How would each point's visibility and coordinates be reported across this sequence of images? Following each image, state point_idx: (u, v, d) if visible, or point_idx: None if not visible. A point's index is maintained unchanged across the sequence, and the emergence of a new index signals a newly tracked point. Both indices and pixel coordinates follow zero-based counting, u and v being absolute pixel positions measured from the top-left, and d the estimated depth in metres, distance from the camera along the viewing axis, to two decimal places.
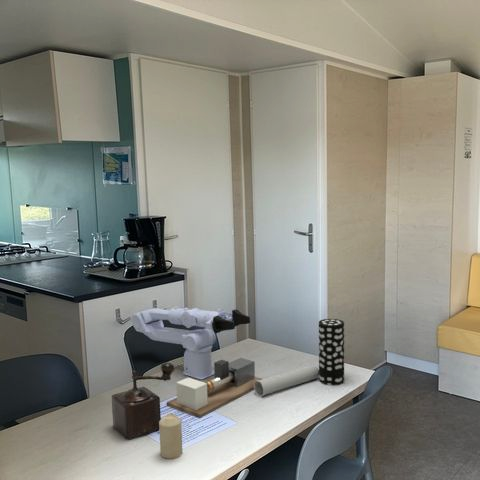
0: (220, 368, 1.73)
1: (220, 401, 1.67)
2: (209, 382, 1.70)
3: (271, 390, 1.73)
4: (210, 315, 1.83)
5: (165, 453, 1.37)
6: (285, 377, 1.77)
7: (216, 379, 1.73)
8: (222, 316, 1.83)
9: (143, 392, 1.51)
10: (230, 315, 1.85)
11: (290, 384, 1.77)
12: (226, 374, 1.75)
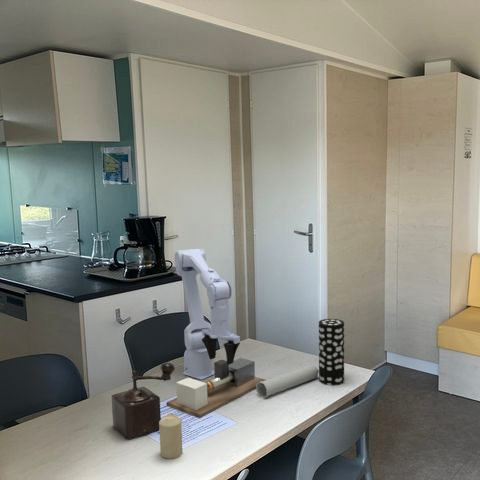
0: (220, 368, 1.73)
1: (220, 401, 1.67)
2: (209, 382, 1.70)
3: (274, 391, 1.72)
4: (211, 325, 1.73)
5: (165, 453, 1.37)
6: (287, 377, 1.76)
7: (216, 379, 1.73)
8: None
9: (143, 392, 1.51)
10: None
11: (292, 384, 1.77)
12: (226, 374, 1.75)
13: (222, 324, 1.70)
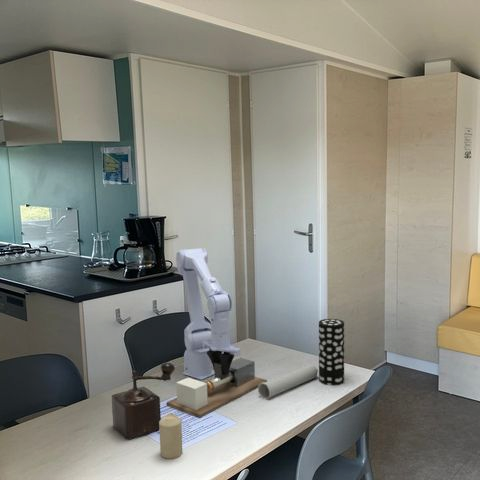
0: (220, 368, 1.73)
1: (220, 401, 1.67)
2: (209, 382, 1.70)
3: (276, 392, 1.71)
4: None
5: (165, 453, 1.37)
6: (288, 378, 1.76)
7: (216, 379, 1.73)
8: None
9: (143, 392, 1.51)
10: None
11: (293, 385, 1.77)
12: None
13: (222, 336, 1.71)
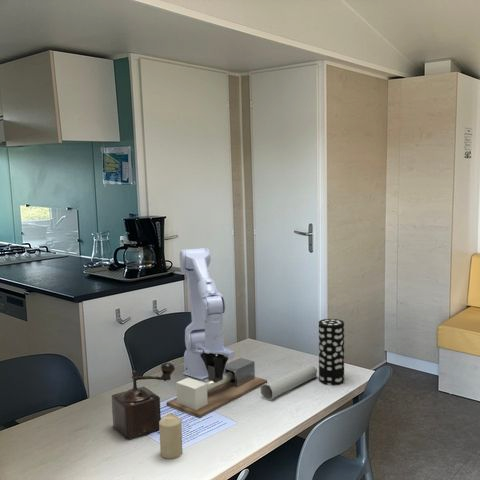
0: (214, 371, 1.71)
1: (220, 401, 1.67)
2: None
3: (279, 392, 1.71)
4: (205, 340, 1.71)
5: (165, 453, 1.37)
6: (290, 378, 1.76)
7: (210, 382, 1.71)
8: None
9: (143, 392, 1.51)
10: None
11: (294, 385, 1.76)
12: (220, 377, 1.73)
13: (216, 339, 1.69)
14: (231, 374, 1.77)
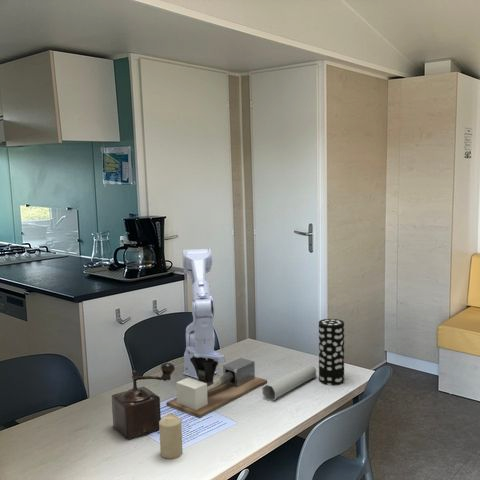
0: (204, 375, 1.68)
1: (220, 401, 1.67)
2: None
3: (281, 393, 1.70)
4: (194, 344, 1.68)
5: (165, 453, 1.37)
6: (291, 378, 1.75)
7: None
8: None
9: (143, 392, 1.51)
10: None
11: (295, 385, 1.76)
12: None
13: (206, 343, 1.65)
14: (222, 379, 1.74)
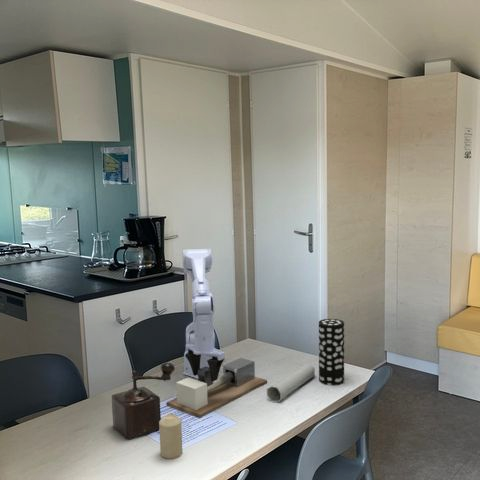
0: (204, 375, 1.67)
1: (220, 401, 1.67)
2: None
3: (285, 394, 1.70)
4: (194, 341, 1.68)
5: (165, 453, 1.37)
6: (293, 379, 1.75)
7: None
8: None
9: (143, 392, 1.51)
10: None
11: (297, 385, 1.76)
12: (210, 381, 1.69)
13: (206, 340, 1.65)
14: (222, 379, 1.74)
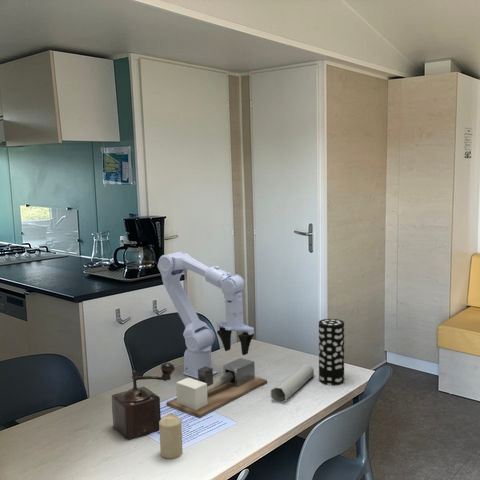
0: (204, 375, 1.67)
1: (220, 401, 1.67)
2: None
3: (289, 395, 1.69)
4: (226, 318, 1.81)
5: (165, 453, 1.37)
6: (295, 379, 1.75)
7: None
8: None
9: (143, 392, 1.51)
10: None
11: (299, 386, 1.76)
12: (210, 381, 1.69)
13: (237, 316, 1.78)
14: (222, 379, 1.74)
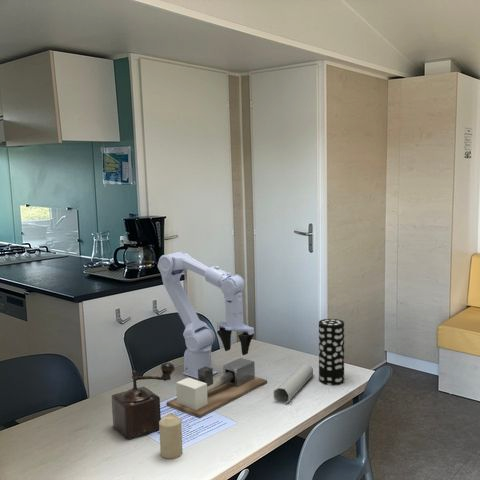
0: (204, 375, 1.67)
1: (220, 401, 1.67)
2: None
3: (292, 395, 1.69)
4: (226, 318, 1.81)
5: (165, 453, 1.37)
6: (297, 379, 1.75)
7: None
8: None
9: (143, 392, 1.51)
10: None
11: (300, 386, 1.76)
12: (210, 381, 1.69)
13: (237, 316, 1.78)
14: (222, 379, 1.74)
